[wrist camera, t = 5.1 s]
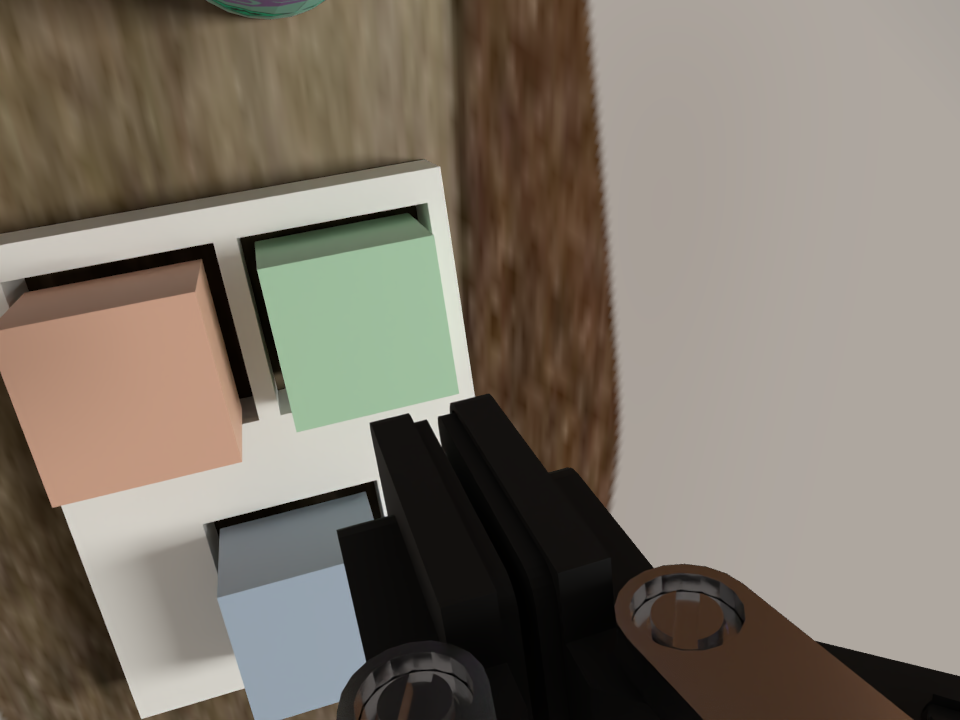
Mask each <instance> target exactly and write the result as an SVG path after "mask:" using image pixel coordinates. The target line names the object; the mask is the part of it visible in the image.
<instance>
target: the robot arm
mask: <svg viewBox="0 0 960 720" xmlns="http://www.w3.org/2000/svg"><path fill="white" fill-rule="evenodd" d="M438 428H439V435H440V441H441V445H440V443H439V441H438V439H437V437H436V435H435V434H434V432H433V430H432V428H431V426H430V424H429V422H428V421H427V419H426V420H422V421H418V422H414V421H413V419H412V417H411V415H410V414H409V413H407V414H403V415H399V416H394V417H390V418H386V419H382V420H378V421H374V422H370V431H371V437H372V442H373V447H374V451H375V456H376V461H377V466H378V471H379V476H380V481H381V486H382V491H383V496H384V501H385V505H386V510H387V515H388V516H386V517H382V518H378V519H374V520H371V521H367V522H363V523H360V524H356V525H352V526H348V527H345V528H341V529H337V530H336V531H337V536H338V540H339V544H340V549H341V553H342V558H343V562H344V567H345V571H346V575H347V580H348V584H349V589H350V593H351V597H352V602H353V606H354V611H355V615H356V620H357V624H358V628H359V633H360V637H361V642H362V646H363V651H364V655H365V659H366V663H365V664H364V665H363V666H361V667H360V668H359V669H358V670H357V671H356V672H355V673H354V674H353V675H352V676H351V678H350V679H349V681H348V683H347V684H346V686H345V688H344V689H343V691H342V692H341V696H340V701H339V705H338V709H337V720H960V676H957V675H953V674H949V673H944V672H940V671H936V670H932V669H928V668H924V667H920V666H916V665H912V664H908V663H904V662H900V661H895V660H891V659H887V658H883V657H879V656H874V655H871V654H867V653H863V652H859V651H854V650H850V649H846V648H842V647H838V646H834V645H830V644H825V643H821V642H818V641H814V640H813V639H812V638H811V637H809V636H808V635H807V634H806V633H804V632H803V631H802V630H800V629H799V628H798V627H797V626H796V625H794V624H793V623H792V622H790V621H789V620H788V619H787V618H786V617H784V616H783V615H782V614H781V613H779V612H778V611H777V610H776V609H774V608H773V607H771V606H770V605H769V604H768V603H767V602H766V601H764V600H763V599H762V598H761V597H759V596H758V595H757V594H756V593H754V592H753V591H752V590H750V589H749V588H748V587H747V586H746V585H744V584H743V583H741V582H740V581H738V580H736V579H735V578H733V577H731V576H730V575H728V574H727V573H724V572H721V571H718V570H715V569H712V568H709V567H706V566H697V565H690V564H675V565H663V566H660V567H657V568H653V567H652V565H651V564H650V563H649V562H648V560H647V559H646V558H645V557H644V555H643V554H642V553H641V552H640V550H639V549H638V548H637V547H636V545H635V544H634V543H633V542H632V540H631V539H630V538H629V537H628V536H627V534H626V533H625V532H624V530H623V529H622V528H621V527H620V525H619V524H618V523H617V522H616V521H615V519H614V518H613V517H612V516H611V514H610V513H609V512H608V511H607V509H606V508H605V507H604V506H603V504H602V503H601V502H600V501H599V499H598V498H597V497H596V496H595V494H594V493H593V492H592V491H591V489H590V488H589V487H588V486H587V484H586V483H585V482H584V481H583V479H582V478H581V477H580V476H579V474H578V473H577V472H576V471H575V470H574V469H572V468H564V469H560V470H557V471H553V472H549V473H548V472H547V470H546V469H545V468H544V466H543V465H542V464H541V462H540V461H539V459H538V458H537V457H536V455H535V454H534V453H533V451H532V450H531V449H530V447H529V446H528V445H527V443H526V442H525V440H524V439H523V438H522V436H521V435H520V434H519V432H518V431H517V430H516V428H515V427H514V426H513V424H512V423H511V421H510V420H509V419H508V417H507V416H506V415H505V413H504V412H503V411H502V409H501V408H500V407H499V405H498V404H497V402H496V401H495V400H494V398H493V397H492V396H491V395H490V394H485V395H481V396H477V397H473V398H468V399H464V400H460V401H456V402H452V403H450V414H446V415H442V416H438Z"/></svg>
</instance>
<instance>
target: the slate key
mask: <svg viewBox="0 0 960 720" xmlns="http://www.w3.org/2000/svg"><path fill="white" fill-rule="evenodd" d="M371 520H374V518H373V515H372V512H371V508H370V505H369V501H368V498H367V495H366V491H365V492H362V493H358V494H354V495H350V496H346V497H342V498H338V499H334V500H330V501H327V502H323V503H319V504H315V505H311V506H307V507H303V508H299V509H295V510H291V511H288V512H284V513H280V514H276V515H272V516H268V517H264V518H260V519H256V520H253V521H249V522H245V523H241V524H237V525H233V526H229V527H225V528H221V529H220V539H219V562H218V586H217V600H218V603H219V606H220V610H221V613H222V616H223V619H224V622H225V626H226V629H227V632H228V635H229V639H230V642H231V645H232V648H233V651H234V655H235V658H236V661H237V664H238V668H239V671H240V674H241V677H242V680H243V684H244V687H245V690H246V693H247V697H248V700H249V703H250V706H251V709H252V713H253V716H254V719H255V720H281V719H284V718H288V717H291V716H294V715H297V714H301V713H304V712H307V711H310V710H314V709H317V708H320V707H323V706H327V705H330V704H333V703H336V702H339V701H340V696H341V692H342V691H343V689H344V688H345V686H346V684H347V683H348V681H349V679H350V678H351V676H352V675H353V674H354V673H355V672H356V671H357V670H358V669H359V668H360V667H361V666H363V665H364V664H365V663H366V659H365V655H364V651H363V646H362V642H361V637H360V633H359V628H358V624H357V620H356V615H355V611H354V606H353V602H352V597H351V593H350V589H349V584H348V580H347V575H346V571H345V567H344V562H343V558H342V553H341V549H340V544H339V540H338V536H337V531H336V530H337V529H341V528H345V527H348V526H352V525H356V524H360V523H363V522H367V521H371Z"/></svg>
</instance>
